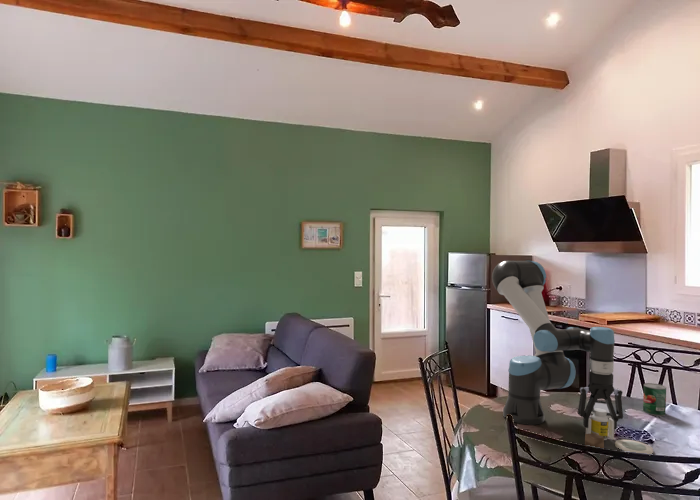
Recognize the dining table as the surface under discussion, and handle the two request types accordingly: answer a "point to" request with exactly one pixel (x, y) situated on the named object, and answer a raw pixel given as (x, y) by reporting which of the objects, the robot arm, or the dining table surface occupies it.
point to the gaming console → (601, 407)
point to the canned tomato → (654, 399)
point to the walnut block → (594, 440)
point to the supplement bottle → (600, 423)
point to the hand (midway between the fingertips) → (599, 437)
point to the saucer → (633, 446)
